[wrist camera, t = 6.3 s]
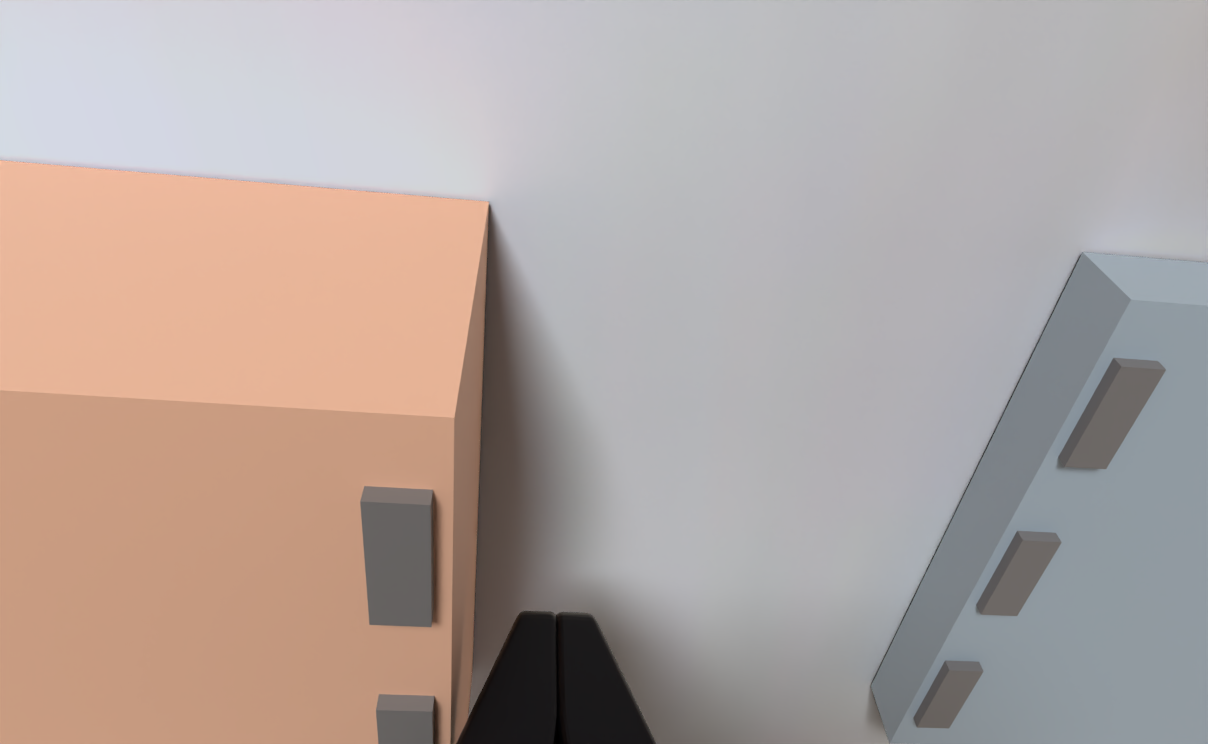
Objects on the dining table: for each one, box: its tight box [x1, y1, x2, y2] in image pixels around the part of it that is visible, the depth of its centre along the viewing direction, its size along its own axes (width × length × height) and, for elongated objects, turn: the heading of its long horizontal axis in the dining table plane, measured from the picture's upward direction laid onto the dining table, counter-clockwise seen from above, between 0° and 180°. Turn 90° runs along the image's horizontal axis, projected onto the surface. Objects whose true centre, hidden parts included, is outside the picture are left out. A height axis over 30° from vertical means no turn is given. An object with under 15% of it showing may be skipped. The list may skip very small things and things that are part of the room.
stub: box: [0, 160, 489, 744], centre depth 9 cm, size 6×8×4 cm
